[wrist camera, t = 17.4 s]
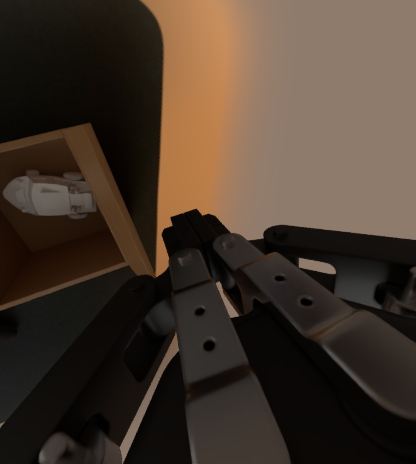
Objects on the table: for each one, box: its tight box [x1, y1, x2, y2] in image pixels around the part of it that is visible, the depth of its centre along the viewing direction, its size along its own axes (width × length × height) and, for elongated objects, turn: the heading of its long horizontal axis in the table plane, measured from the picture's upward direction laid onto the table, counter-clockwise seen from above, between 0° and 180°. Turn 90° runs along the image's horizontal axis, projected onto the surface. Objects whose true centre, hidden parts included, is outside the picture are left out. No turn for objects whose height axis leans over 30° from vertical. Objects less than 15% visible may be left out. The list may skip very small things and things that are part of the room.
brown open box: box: [0, 125, 129, 310], centre depth 22 cm, size 12×12×10 cm
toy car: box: [3, 170, 96, 219], centre depth 23 cm, size 5×8×4 cm, turn 82°
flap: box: [64, 123, 156, 279], centre depth 16 cm, size 12×6×1 cm
